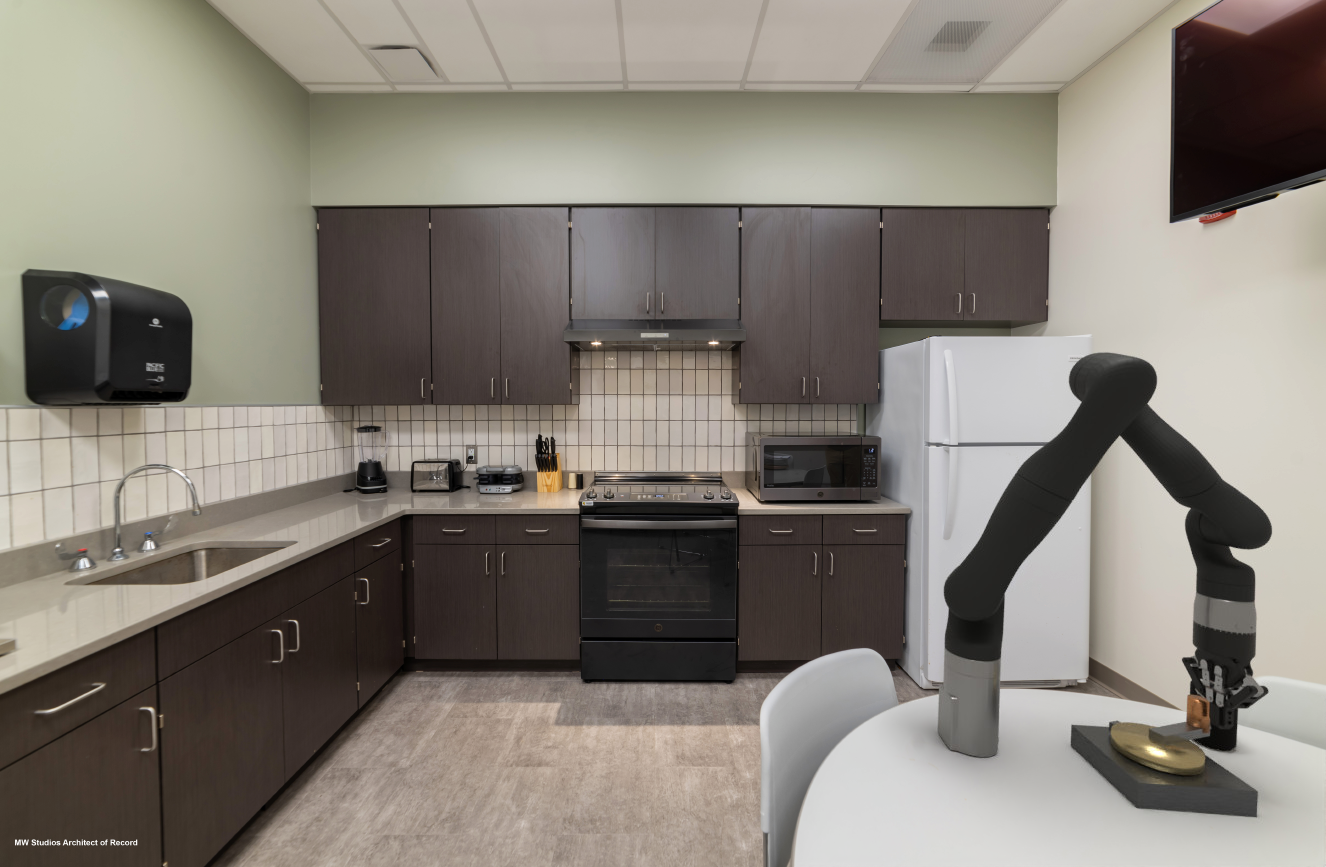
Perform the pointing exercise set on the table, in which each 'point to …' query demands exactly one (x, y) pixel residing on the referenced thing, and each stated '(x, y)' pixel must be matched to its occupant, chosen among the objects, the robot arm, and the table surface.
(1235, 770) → the table surface
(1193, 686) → the beverage can
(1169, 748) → the gold plate with handle
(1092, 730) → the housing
